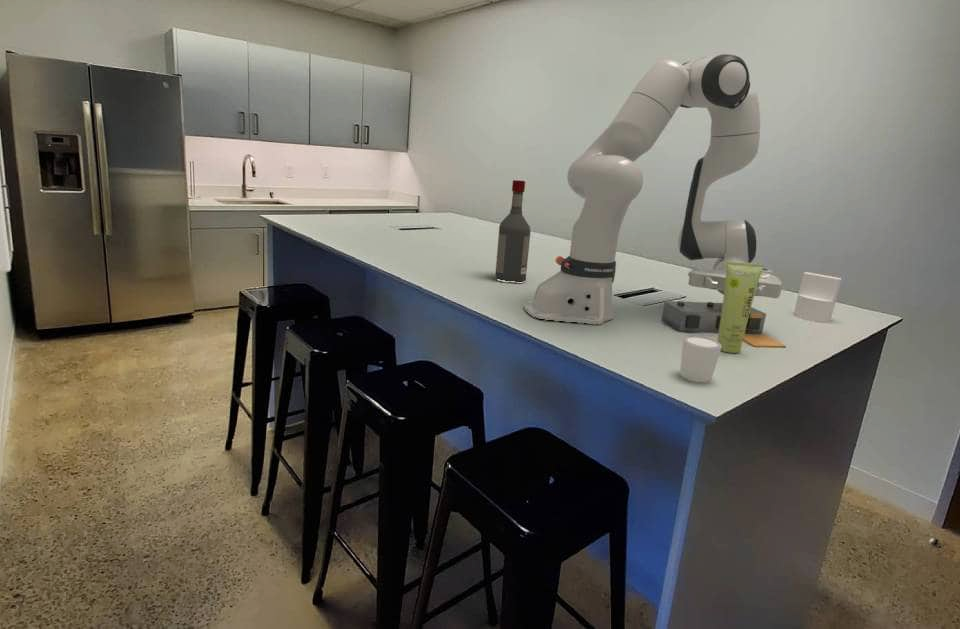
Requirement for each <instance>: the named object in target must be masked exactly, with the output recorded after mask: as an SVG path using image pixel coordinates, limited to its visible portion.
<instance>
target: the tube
mask: <svg viewBox="0 0 960 629" xmlns="http://www.w3.org/2000/svg"><path fill="white" fill-rule="evenodd" d="M764 267H765V264H764V263H755V262H754V263H752V262H751V263H739V262H728V261H727V264H726V281H725V290H724V295H723V301H722V303H723V307H722V314H721V320H720V327H719V332H717V333H718V335H717V339H716V340H717V341H716V342H719V343H720V344H721V345H722V348H721V351H720V352H725V353H731V354H737V353H740V352H741V350H742V346H743V342H744V341H743V338H744V334H746V333H745V329H746V325H747V321H748V317H749V313H750V310H751V307H752V305H753V301H754V298H755V296H754V295H755V292H756V288H757V285H758V282H759V279H760V275H761V273H762V270H763V269H764Z"/></svg>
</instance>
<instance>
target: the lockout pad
mask: <svg viewBox="0 0 960 629" xmlns="http://www.w3.org/2000/svg"><path fill="white" fill-rule="evenodd" d="M743 342H745V343H746V344H747V345H749V346H751V347H754V348H787V345H785V344H783V343H781V342H780V341H778V340H776V339H774V338H771V337H770V336H768V335H766V334H763V333H744V338H743Z"/></svg>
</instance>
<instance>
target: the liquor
mask: <svg viewBox="0 0 960 629" xmlns="http://www.w3.org/2000/svg"><path fill="white" fill-rule="evenodd" d="M511 186H512V187H511V188H512V189H511V191H512V197H511V198H512V199H511V208H510V210H509V214H507V215H506V216H505V218H504V219H503V220H502V221H501V222H500V223H499V227H498V228H499V229H498V236H497V238H498V239H497V250H496V251H497V252H496V263H495V280H496V279H500V280H505V281H515V282H523V281H525V282H526V280H527V270H528V259H529V250H530V239H531V233H532V232H531V227H530V224H529V223H528V221H527V220H526V219H525V216H524V215H523V200H524V192H525V191H526V190H525V187H526V181H525V180H517V179H516V180H515V179H514V180H512V185H511Z"/></svg>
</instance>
